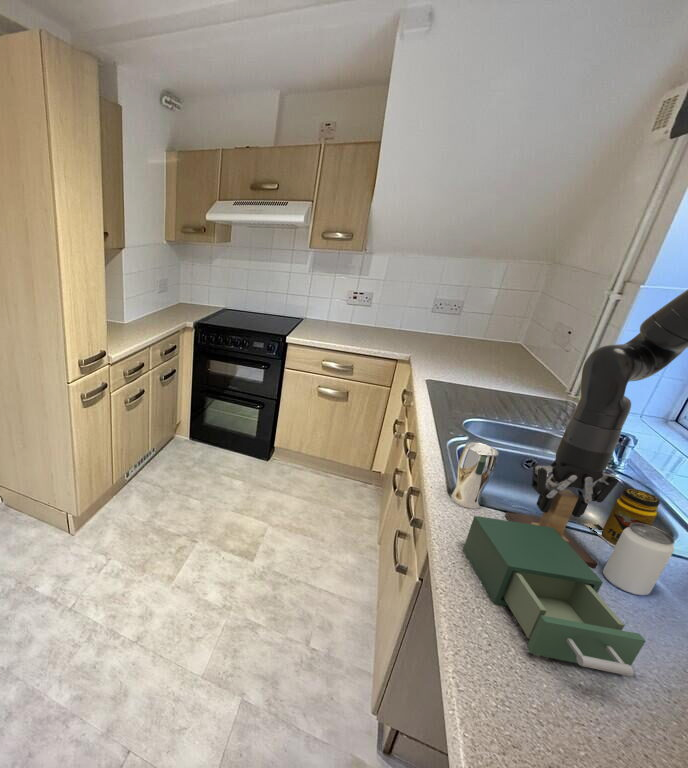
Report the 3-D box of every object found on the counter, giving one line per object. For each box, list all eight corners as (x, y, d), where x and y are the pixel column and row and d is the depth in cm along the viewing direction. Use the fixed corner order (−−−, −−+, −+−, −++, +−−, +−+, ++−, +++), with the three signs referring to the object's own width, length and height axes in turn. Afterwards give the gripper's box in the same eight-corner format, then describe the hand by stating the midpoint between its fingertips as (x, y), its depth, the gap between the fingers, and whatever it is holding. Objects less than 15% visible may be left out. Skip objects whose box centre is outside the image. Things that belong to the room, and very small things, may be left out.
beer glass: (445, 500, 103) (461, 448, 98) (452, 489, 107) (468, 438, 102) (478, 514, 98) (496, 459, 93) (484, 501, 103) (502, 449, 98)
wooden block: (529, 526, 93) (545, 484, 89) (552, 529, 92) (570, 487, 88) (542, 541, 88) (560, 498, 84) (567, 545, 87) (587, 501, 83)
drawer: (648, 701, 58) (670, 668, 56) (545, 679, 61) (562, 646, 58) (572, 604, 73) (586, 574, 71) (492, 589, 76) (503, 560, 74)
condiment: (617, 550, 88) (641, 503, 84) (583, 524, 96) (603, 480, 91) (653, 552, 87) (679, 505, 83) (615, 525, 95) (637, 481, 91)
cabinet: (583, 620, 72) (603, 581, 68) (493, 603, 74) (508, 565, 71) (538, 562, 84) (553, 527, 81) (462, 549, 87) (474, 515, 84)
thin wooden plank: (553, 523, 96) (555, 519, 95) (595, 568, 83) (598, 563, 82) (504, 516, 98) (506, 511, 97) (538, 558, 85) (540, 554, 85)
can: (597, 565, 84) (621, 516, 79) (641, 578, 81) (668, 529, 76) (608, 587, 78) (634, 536, 74) (655, 602, 75) (685, 550, 71)
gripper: (557, 446, 80) (529, 517, 86) (647, 456, 77) (611, 530, 83) (535, 429, 87) (510, 496, 93) (617, 438, 84) (585, 507, 90)
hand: (558, 512), depth 88 cm, fingers open, 5 cm apart
